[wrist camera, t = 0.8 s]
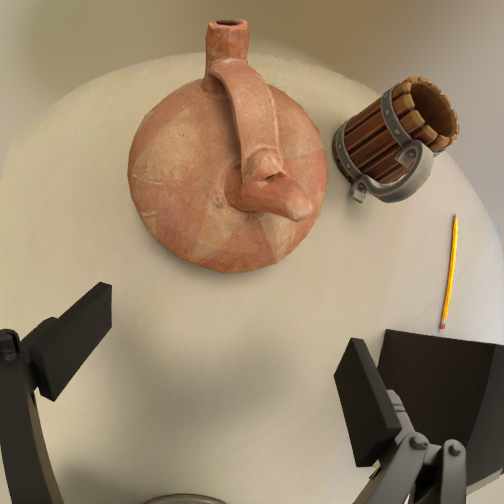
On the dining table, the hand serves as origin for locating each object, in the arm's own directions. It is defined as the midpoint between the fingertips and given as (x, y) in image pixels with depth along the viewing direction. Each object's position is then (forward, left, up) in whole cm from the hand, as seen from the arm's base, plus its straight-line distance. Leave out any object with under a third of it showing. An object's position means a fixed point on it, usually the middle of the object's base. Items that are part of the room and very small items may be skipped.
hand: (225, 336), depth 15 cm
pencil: (+13, -36, -17) cm, 42 cm away
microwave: (-7, -34, -17) cm, 39 cm away
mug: (+22, -16, -17) cm, 32 cm away
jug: (+13, +1, -17) cm, 22 cm away
